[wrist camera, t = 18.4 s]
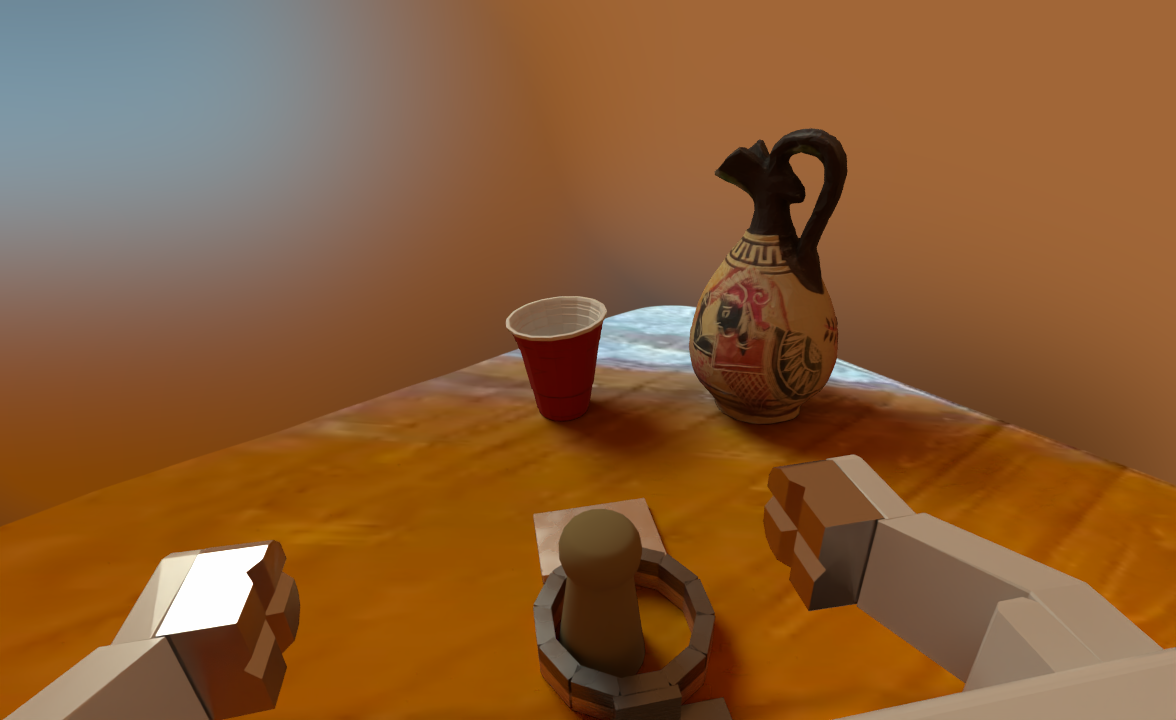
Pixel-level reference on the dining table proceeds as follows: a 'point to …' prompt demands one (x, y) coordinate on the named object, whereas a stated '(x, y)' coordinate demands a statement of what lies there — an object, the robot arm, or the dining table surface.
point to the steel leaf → (639, 515)
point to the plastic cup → (559, 351)
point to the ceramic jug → (771, 289)
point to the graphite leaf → (644, 700)
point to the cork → (602, 592)
